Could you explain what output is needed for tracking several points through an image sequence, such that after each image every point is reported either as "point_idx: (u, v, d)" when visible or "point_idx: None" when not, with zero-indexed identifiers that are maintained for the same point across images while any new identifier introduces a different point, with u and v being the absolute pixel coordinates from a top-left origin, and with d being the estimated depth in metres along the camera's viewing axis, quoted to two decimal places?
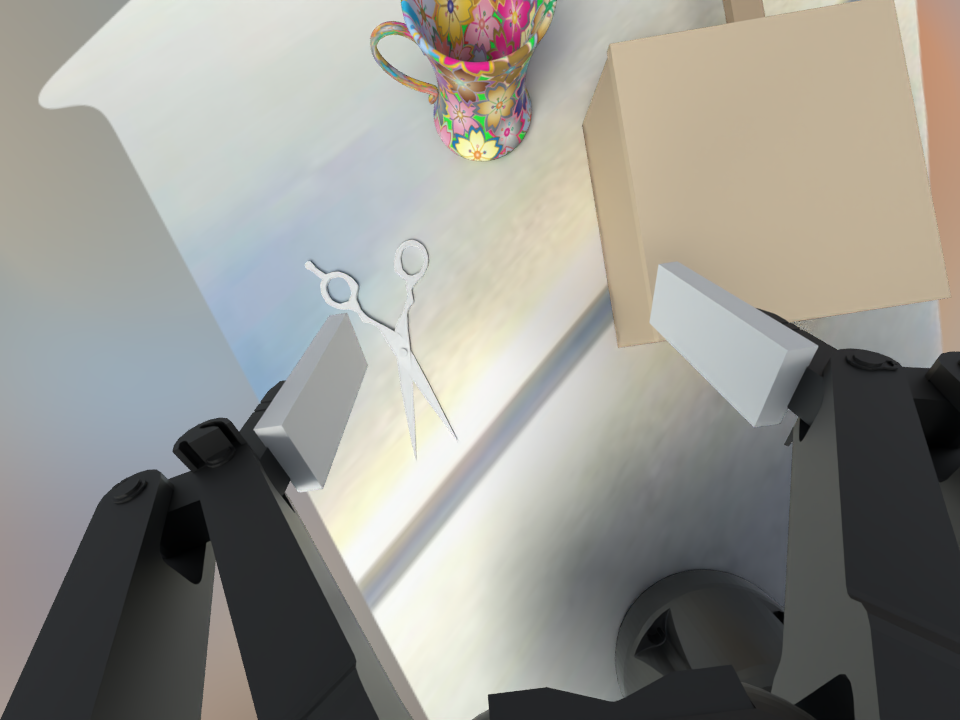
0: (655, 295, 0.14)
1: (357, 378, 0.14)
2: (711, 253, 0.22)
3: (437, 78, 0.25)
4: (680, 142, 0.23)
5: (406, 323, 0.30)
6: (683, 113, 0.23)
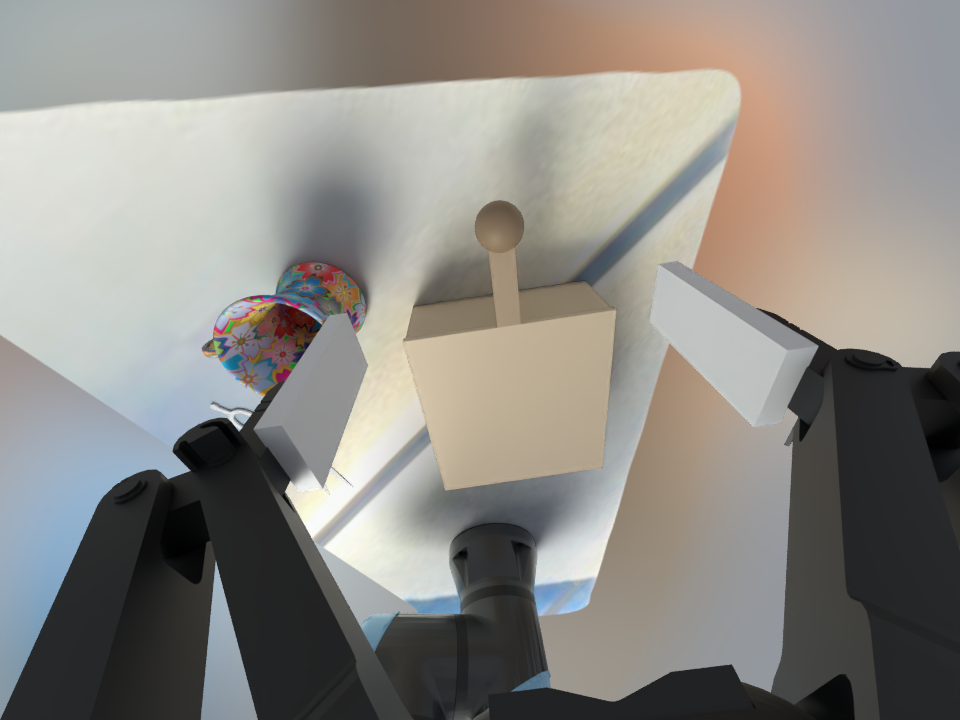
0: (655, 295, 0.14)
1: (357, 378, 0.14)
2: (475, 455, 0.37)
3: None
4: (456, 402, 0.33)
5: None
6: (459, 386, 0.32)
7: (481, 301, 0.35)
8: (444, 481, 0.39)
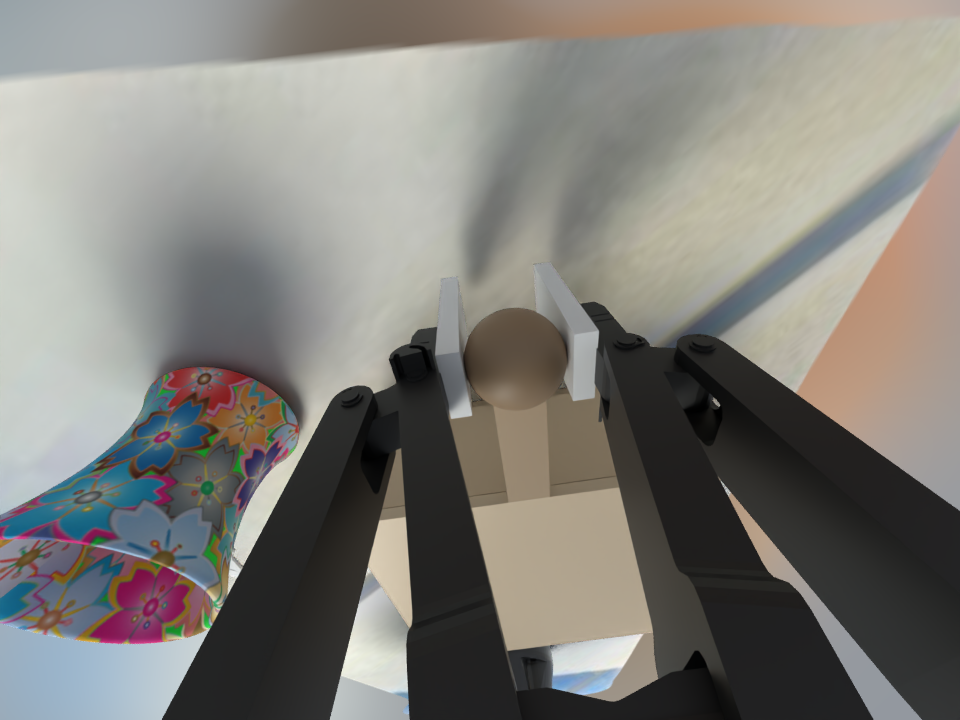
0: (535, 291, 0.16)
1: (466, 335, 0.16)
2: None
3: None
4: None
5: (235, 564, 0.32)
6: None
7: (481, 415, 0.22)
8: None
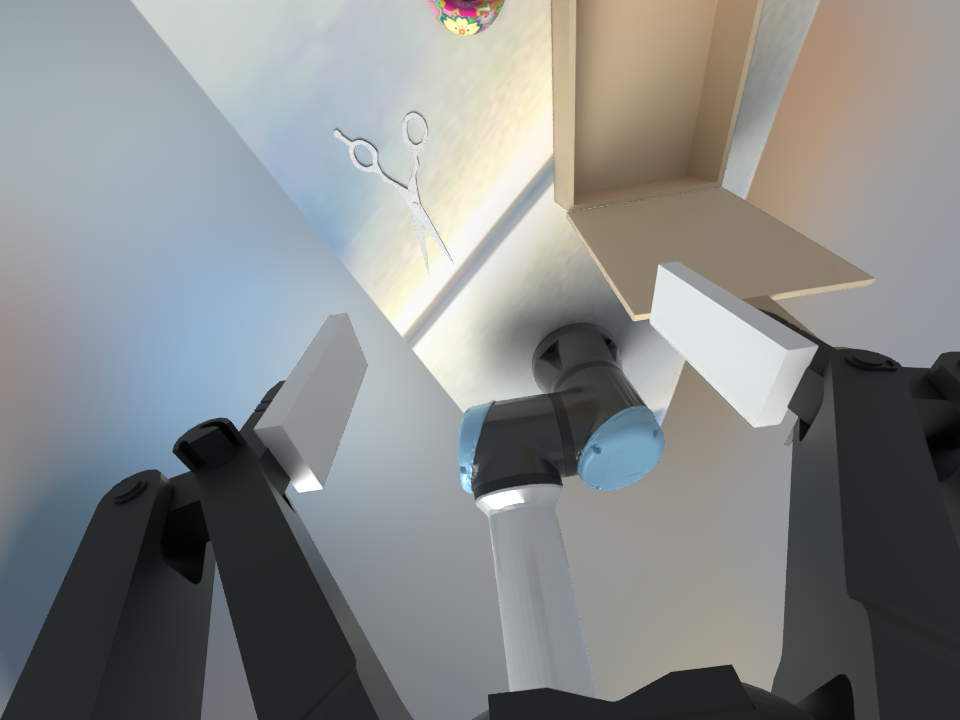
0: (655, 295, 0.14)
1: (357, 378, 0.14)
2: None
3: None
4: None
5: (415, 183, 0.44)
6: None
7: None
8: None
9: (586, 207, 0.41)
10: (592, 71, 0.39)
